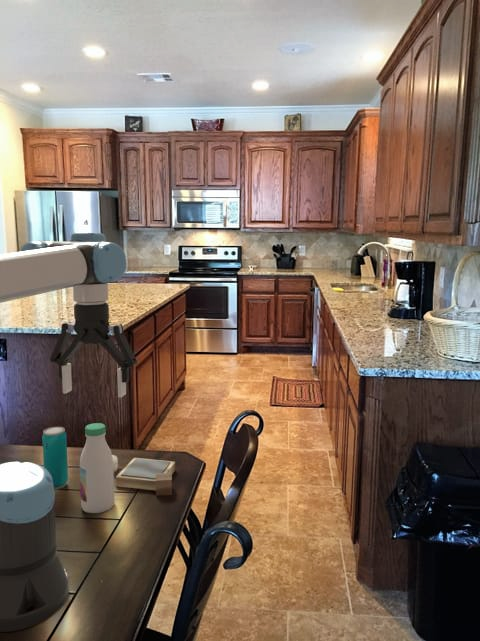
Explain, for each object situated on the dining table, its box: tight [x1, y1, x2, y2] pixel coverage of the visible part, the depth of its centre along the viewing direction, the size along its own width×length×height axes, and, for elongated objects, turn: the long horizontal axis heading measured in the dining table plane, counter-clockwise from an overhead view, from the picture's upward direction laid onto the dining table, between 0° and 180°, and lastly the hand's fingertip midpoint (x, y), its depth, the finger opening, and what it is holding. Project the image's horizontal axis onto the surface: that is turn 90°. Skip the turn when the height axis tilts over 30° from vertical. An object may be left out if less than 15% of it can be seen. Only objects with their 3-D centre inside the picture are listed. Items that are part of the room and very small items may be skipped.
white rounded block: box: [112, 454, 119, 474], centre depth 137 cm, size 7×7×3 cm
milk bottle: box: [79, 422, 115, 514], centre depth 117 cm, size 8×8×20 cm
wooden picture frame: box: [115, 457, 176, 491], centre depth 133 cm, size 12×12×3 cm
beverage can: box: [41, 426, 69, 491], centre depth 127 cm, size 6×6×15 cm
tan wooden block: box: [155, 472, 173, 497], centre depth 126 cm, size 4×4×4 cm
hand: (94, 393), depth 115 cm, fingers open, 13 cm apart
